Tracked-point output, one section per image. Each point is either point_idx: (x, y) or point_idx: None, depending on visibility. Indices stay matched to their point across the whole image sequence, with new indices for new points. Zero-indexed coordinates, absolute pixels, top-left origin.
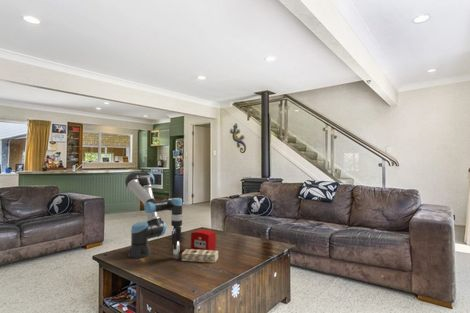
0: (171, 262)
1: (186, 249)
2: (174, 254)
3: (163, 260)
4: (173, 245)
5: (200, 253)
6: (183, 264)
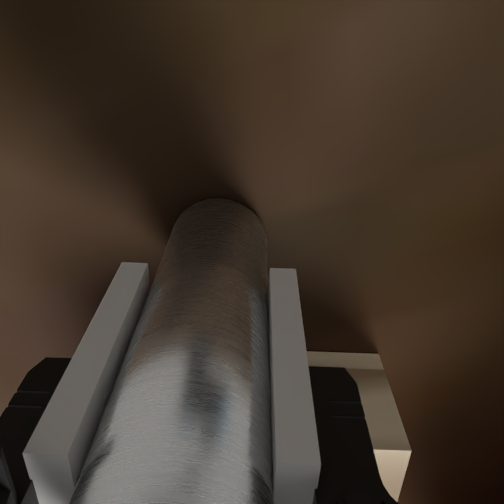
0: (12, 218)
1: (375, 457)
2: (160, 264)
3: (57, 11)
4: (42, 420)
5: None
6: (5, 401)
